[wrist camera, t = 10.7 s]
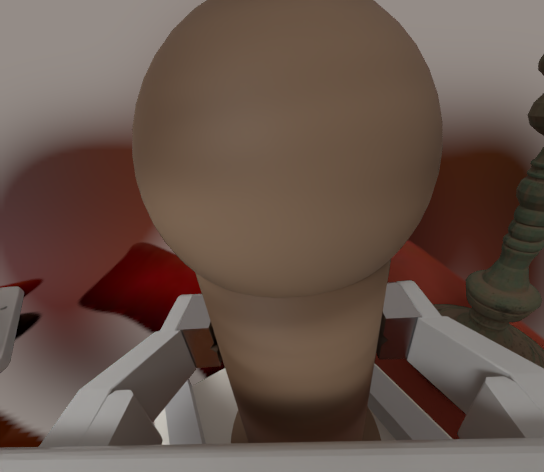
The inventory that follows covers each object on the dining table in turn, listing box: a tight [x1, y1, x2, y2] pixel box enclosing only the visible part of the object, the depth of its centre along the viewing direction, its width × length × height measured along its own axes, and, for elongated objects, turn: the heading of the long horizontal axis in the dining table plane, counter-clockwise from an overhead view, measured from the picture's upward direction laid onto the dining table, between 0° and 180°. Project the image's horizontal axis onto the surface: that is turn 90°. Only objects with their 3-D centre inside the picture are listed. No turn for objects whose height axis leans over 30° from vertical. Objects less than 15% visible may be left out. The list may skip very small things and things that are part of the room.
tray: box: [154, 363, 452, 445], centre depth 13 cm, size 14×14×3 cm
